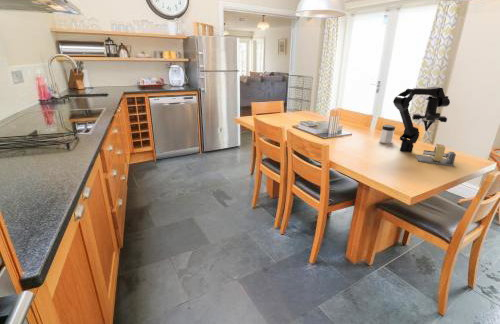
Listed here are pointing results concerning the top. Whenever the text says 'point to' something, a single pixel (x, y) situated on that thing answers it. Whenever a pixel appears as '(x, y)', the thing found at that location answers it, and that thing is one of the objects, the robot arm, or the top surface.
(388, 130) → the jar
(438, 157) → the tan notched block
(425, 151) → the shaft stand
